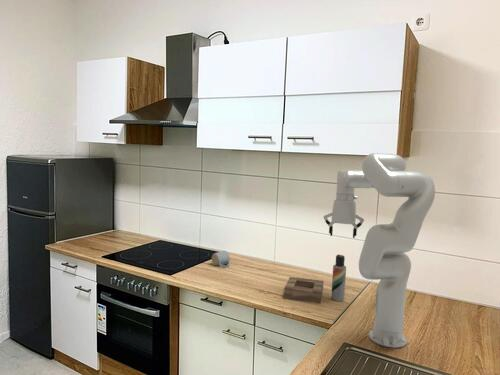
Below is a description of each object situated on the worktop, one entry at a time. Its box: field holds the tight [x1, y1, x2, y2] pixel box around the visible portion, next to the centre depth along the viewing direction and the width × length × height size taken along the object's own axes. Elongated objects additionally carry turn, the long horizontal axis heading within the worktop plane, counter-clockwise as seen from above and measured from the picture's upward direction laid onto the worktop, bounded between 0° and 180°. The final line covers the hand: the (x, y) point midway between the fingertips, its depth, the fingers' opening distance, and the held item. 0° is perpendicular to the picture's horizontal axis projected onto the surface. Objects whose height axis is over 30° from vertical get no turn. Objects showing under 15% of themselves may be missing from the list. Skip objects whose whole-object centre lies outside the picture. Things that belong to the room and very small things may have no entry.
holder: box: [283, 276, 325, 304], centre depth 174 cm, size 16×16×5 cm
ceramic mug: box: [211, 250, 231, 269], centre depth 214 cm, size 11×8×8 cm
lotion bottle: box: [330, 254, 347, 302], centre depth 170 cm, size 6×6×20 cm
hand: (342, 236), depth 168 cm, fingers open, 9 cm apart
